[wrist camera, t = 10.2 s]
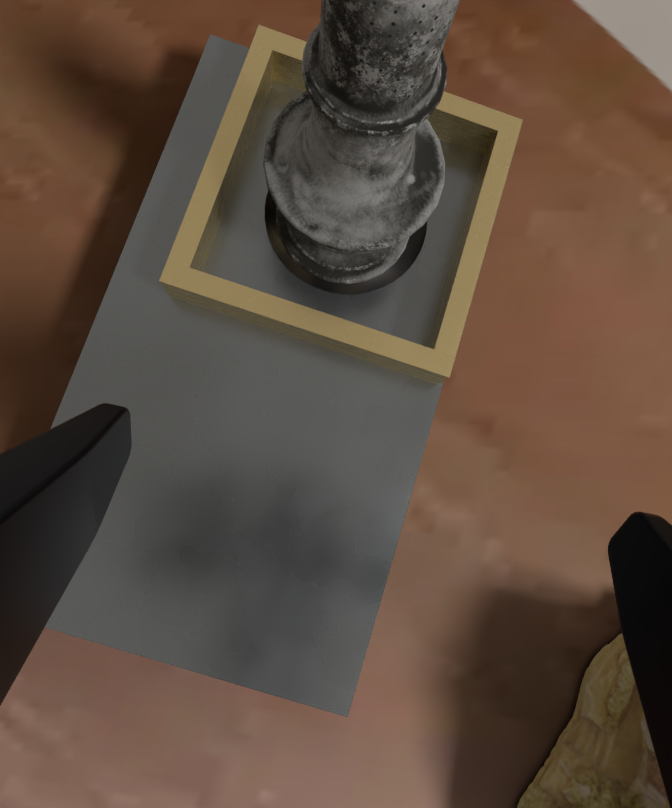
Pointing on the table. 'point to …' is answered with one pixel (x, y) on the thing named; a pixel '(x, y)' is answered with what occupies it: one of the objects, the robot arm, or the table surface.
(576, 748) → the ceramic model
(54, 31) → the table surface
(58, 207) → the table surface
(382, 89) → the grey tiered ornament
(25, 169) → the table surface
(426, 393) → the grey slab
